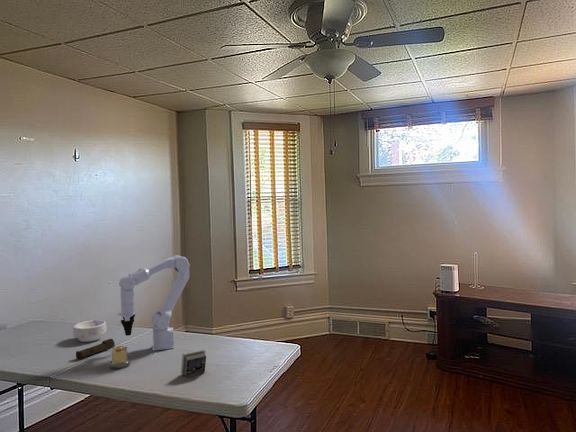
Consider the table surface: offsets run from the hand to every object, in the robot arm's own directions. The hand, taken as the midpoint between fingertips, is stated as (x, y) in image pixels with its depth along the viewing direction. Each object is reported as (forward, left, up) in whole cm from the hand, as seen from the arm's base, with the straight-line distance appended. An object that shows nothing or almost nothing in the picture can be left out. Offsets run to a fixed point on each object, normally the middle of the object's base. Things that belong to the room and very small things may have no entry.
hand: (128, 332), depth 196 cm
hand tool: (+15, -6, -10) cm, 19 cm away
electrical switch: (-26, +35, -10) cm, 45 cm away
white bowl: (+20, -30, -10) cm, 37 cm away
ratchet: (+3, +9, -9) cm, 13 cm away
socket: (+3, +15, -8) cm, 17 cm away
